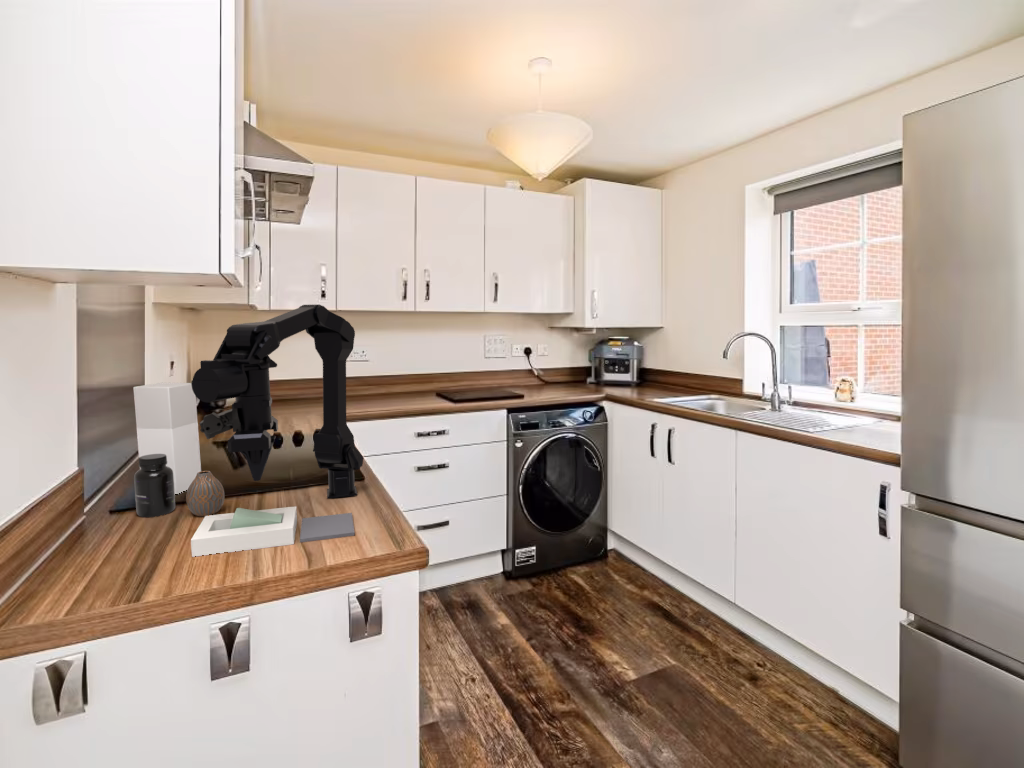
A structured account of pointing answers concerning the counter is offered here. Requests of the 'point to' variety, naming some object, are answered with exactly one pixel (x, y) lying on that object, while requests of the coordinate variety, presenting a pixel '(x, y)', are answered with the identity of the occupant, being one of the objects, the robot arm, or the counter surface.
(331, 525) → the rubber mat
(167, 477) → the supplement bottle
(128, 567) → the counter surface
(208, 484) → the vase
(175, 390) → the tall white carton
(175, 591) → the counter surface
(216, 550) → the white rectangular frame
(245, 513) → the sage block
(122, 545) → the counter surface
